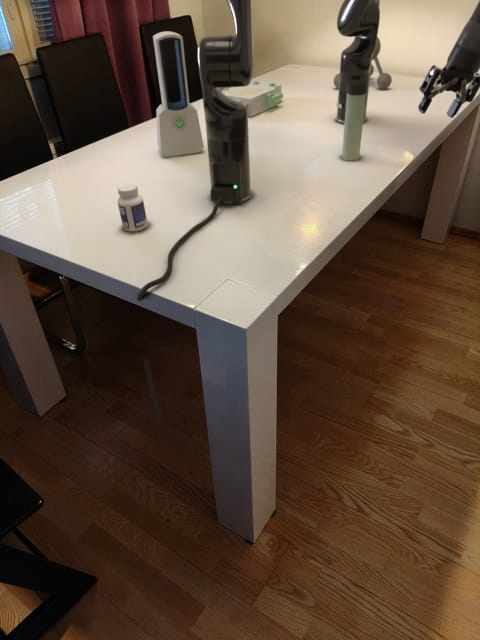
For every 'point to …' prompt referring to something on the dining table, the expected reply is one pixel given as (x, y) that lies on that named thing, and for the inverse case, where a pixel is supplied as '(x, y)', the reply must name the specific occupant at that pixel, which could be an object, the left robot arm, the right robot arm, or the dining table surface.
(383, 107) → the dining table surface
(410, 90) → the dining table surface
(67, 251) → the dining table surface
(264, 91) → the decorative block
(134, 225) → the pill bottle
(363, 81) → the lid
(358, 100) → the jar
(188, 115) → the electronic device
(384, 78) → the molecular model
